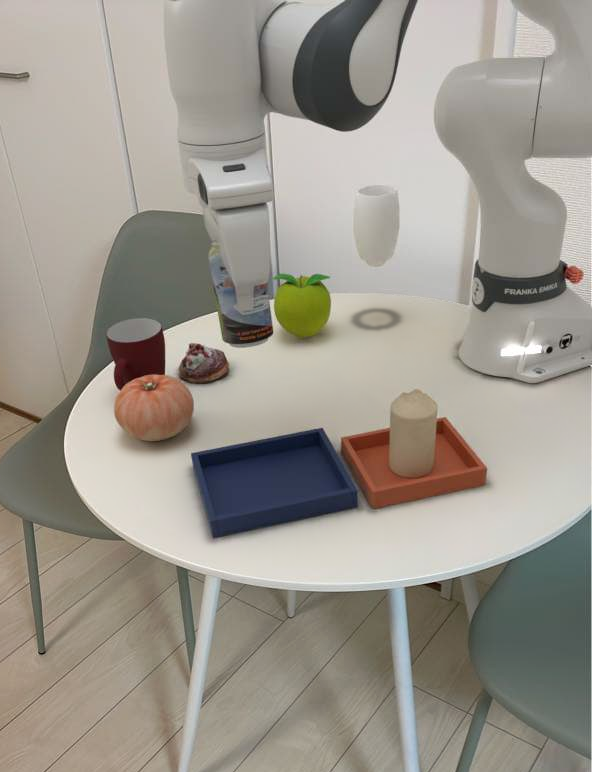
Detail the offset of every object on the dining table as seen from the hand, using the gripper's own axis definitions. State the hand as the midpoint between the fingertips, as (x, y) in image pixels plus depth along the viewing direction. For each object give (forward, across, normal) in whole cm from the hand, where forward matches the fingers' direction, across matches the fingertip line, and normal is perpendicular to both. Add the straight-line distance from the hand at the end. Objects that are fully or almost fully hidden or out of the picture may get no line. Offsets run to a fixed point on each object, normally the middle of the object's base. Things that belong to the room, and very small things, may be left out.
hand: (239, 296), depth 86 cm
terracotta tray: (+21, +10, +18) cm, 30 cm away
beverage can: (+5, +1, 0) cm, 5 cm away
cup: (+21, -33, +28) cm, 48 cm away
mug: (+21, -20, -13) cm, 32 cm away
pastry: (+21, -24, -3) cm, 33 cm away
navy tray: (+21, +8, 0) cm, 23 cm away
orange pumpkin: (+21, -9, -12) cm, 26 cm away
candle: (+21, +10, +18) cm, 29 cm away
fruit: (+21, -32, +15) cm, 41 cm away
